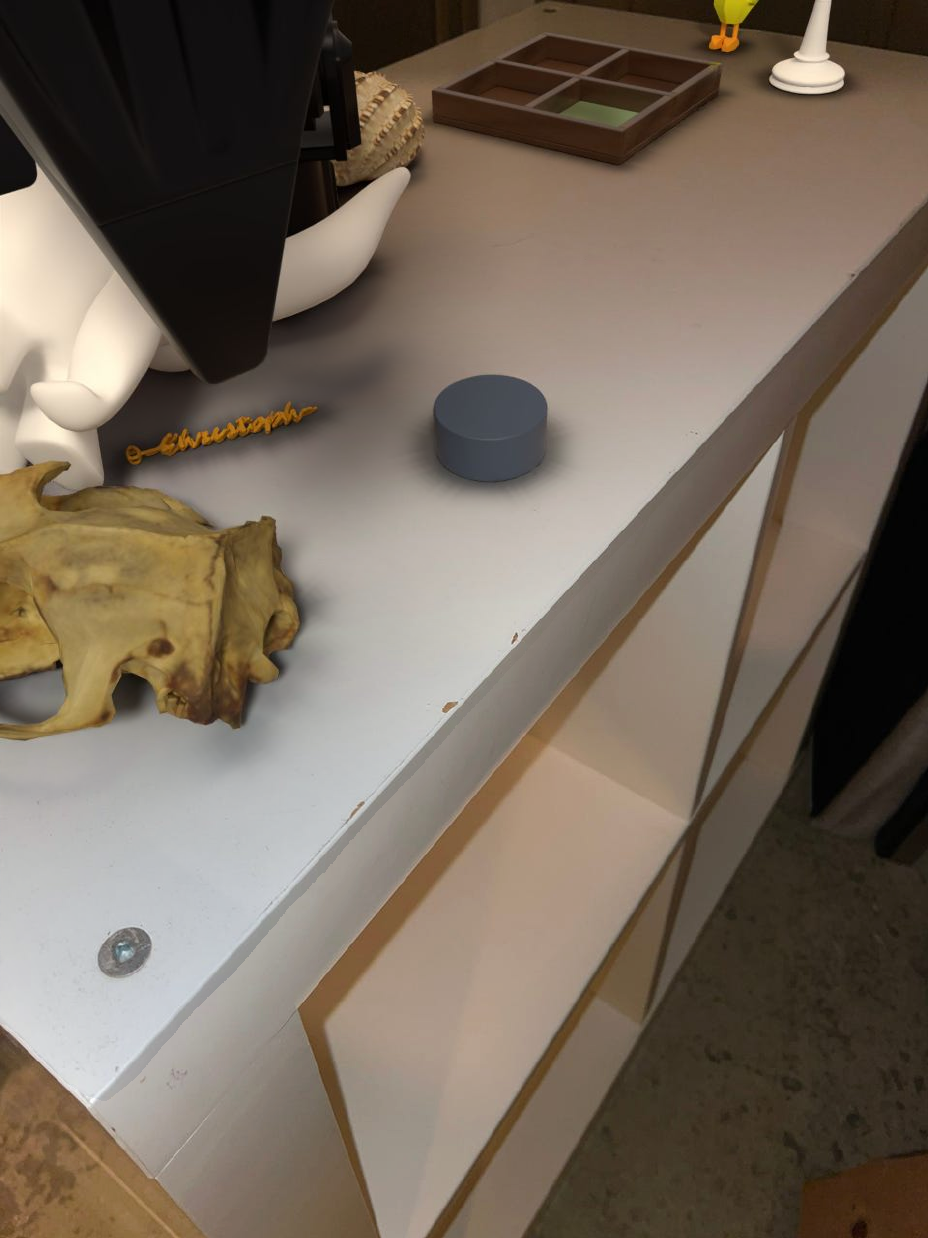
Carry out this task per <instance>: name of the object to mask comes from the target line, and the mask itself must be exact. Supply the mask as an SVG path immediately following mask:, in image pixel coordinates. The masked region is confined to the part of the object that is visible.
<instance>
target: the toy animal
mask: <svg viewBox="0 0 928 1238" xmlns="http://www.w3.org/2000/svg"><path fill="white" fill-rule="evenodd" d="M36 167H37V179H36V181H35V183H34V184H33V185H32V186H30V187H28V188H24V189H21V190H18V191H14V192H11V193H8V194H5V195H1V196H0V475H1V474H10V473H11V472H13V471H15V470H18V469H21V468H25V467H27V464H28V462H29V463H30V464H32V466H33V465H36V464H40V463H44V462H47V461H62V462H69V463H70V464H71V466H70V468H69V469H68V470H67V471H63V472H62V473H61V474H60V475H58V476H57V477H56V478H55V479H53V480H52V482H55V483H56V484H58V485H59V486H61V487H62V488H64V489H67V490H69V491H72V492H78V491H80V490H82V489H85V488H87V487H94V486H104V483H105V482H104V481H105V473H104V467H103V460H102V455H101V454H102V453H101V449H100V442H99V441H100V440H99V434H98V428H100V427H101V426H103V425H105V424H106V423H108V421H110V420H111V419H112V418H113V417H115V415H116V414H118V412H119V411H120V410H121V409H122V408H123V406H124V405H125V404H126V403H127V402H128V401H129V399H130V397H131V396H132V395H133V393H134V392H135V390H136V389H137V388H138V386H139V384H140V383H141V381H142V379H143V377H144V375H146V372H147V371H148V369H149V368H150V369H152V370H157V371H160V372H169V373H176V372H178V373H179V372H184V371H188V370H190V368H189V367H188V366H187V365H186V363H185V362H184V361H183V359H182V358H181V357H180V355H179V354H178V353H177V351H176V350H175V349H174V348H173V346H172V345H171V344H170V342H169V341H168V340H167V338H166V337H165V336H164V334H163V333H162V332H161V331H160V329H159V328H158V327H157V325H156V324H155V323H154V321H153V320H152V319H151V317H150V316H149V315H148V314H147V312H146V311H145V310H144V308H143V307H142V306H141V304H140V303H139V302H138V300H137V299H136V297H135V296H134V295H133V293H132V292H131V291H130V289H129V288H128V287H127V285H126V284H125V283H124V281H123V280H122V278H121V277H120V276H119V274H118V273H117V272H116V270H115V269H114V268H113V266H112V265H111V264H110V262H109V261H108V259H107V258H106V257H105V255H104V254H103V253H102V251H101V250H100V249H99V247H98V246H97V245H96V243H95V242H94V240H93V239H92V238H91V236H90V235H89V234H88V232H87V231H86V230H85V228H84V227H83V226H82V224H81V223H80V221H79V220H78V219H77V217H76V216H75V215H74V213H73V212H72V211H71V209H70V208H69V207H68V205H67V204H66V202H65V201H64V200H63V198H62V197H61V196H60V194H59V193H58V192H57V190H56V189H55V187H54V186H53V185H52V183H51V182H50V181H49V179H48V178H47V177H46V175H45V174H44V173H43V171H42V170H41V168H40V167H39V166H38V164H37V163H36ZM410 179H411V172H410V170H409V169H408V168H406V167H399V168H396V169H394V170H392V171H389V172H388V173H386V174H384V175H383V176H381V177H380V178H378V179H377V180H373V181H372V182H371V183H369V184H368V185H366V187H364V188H362V189H361V190H360V191H359V192H358V193H357V194H355V195H354V196H352V198H350V199H349V200H348V201H346V202H345V203H344V204H343V205H341V207H339V209H338V210H337V211H335V212H334V213H332V214H331V215H330V216H328V217H327V218H325V219H323V220H322V221H320V222H318V223H317V224H315V225H314V226H312V227H310V228H308V229H306V230H304V231H301V232H299V233H297V234H295V235H293V236H291V237H288V238H286V241H285V247H284V254H283V260H282V266H281V272H280V278H279V285H278V291H277V297H276V303H275V309H274V315H273V322H277V321H280V320H282V319H285V318H288V317H292V316H293V315H296V314H299V313H301V312H303V311H306V310H309V309H310V308H313V307H316V306H317V305H319V304H322V303H323V302H326V301H327V300H329V299H331V298H333V297H335V296H336V295H338V294H339V293H341V292H342V291H343V290H345V289H346V288H348V287H349V286H350V285H352V284H353V283H354V282H355V281H356V280H357V278H358V277H360V275H361V274H362V273H363V272H364V271H365V270H366V268H367V267H368V265H369V263H370V262H371V260H372V258H373V256H374V254H375V253H376V251H377V248H378V246H379V244H380V241H381V240H382V237H383V234H384V231H385V229H386V226H387V223H388V222H389V219H390V217H391V215H392V214H393V213H392V212H393V210H394V208H395V207H396V205H397V204H398V201H399V200H400V198H401V196H402V195H403V193H404V191H405V190H406V188H407V187H408V185H409V183H410V181H411V180H410Z"/></svg>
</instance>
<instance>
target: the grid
mask: <svg viewBox="0 0 928 1238" xmlns="http://www.w3.org/2000/svg"><path fill="white" fill-rule="evenodd" d="M723 65H724V64H723V63H722V62H717V61H711V60H706V59H702V58H701V59H700V58H695V57H689V56H684V55H677V54H671V53H666V52H661V51H655V50H649V49H645V48H639V47H633V46H626V45H620V44H615V43H609V42H606V41H605V42H604V41H599V40H592V39H586V38H582V37H575V36H570V35H565V34H559V33H553V32H547V31H544V32H543V33H540V34H538V35H536V36H534V37H533V38H531V39H529V40H527V41H525V42H523V43H521V44H519V45H517V46H515V47H513V48H511V49H508V50H507V51H506V52H503V53H501V54H499V55H497V56H496V57H494V58H492V59H490V60H488V61H486V62H484V63H482V64H480V65H478V66H476V67H474V68H472V69H470V70H469V71H467V72H464V73H463V74H461V75H459V76H456V77H455V78H453V79H451V80H449V81H447V82H445V83H442V84H441V85H439V86H437V87H435V88H433V89H432V90H431V106H432V121H433V122H434V123H439V124H443V125H447V126H451V127H457V128H460V129H465V130H467V131H468V130H469V131H471V132H477V133H482V134H486V135H489V136H494V137H498V138H502V139H506V140H511V141H516V142H520V143H524V144H529V145H533V146H536V147H540V148H541V147H542V148H545V149H549V150H554V151H557V152H563V153H566V154H570V155H575V156H580V157H584V158H588V159H592V160H597V161H600V162H605V163H609V164H613V165H617V166H619V165H621V164H623V163H624V162H626V161H627V160H628V159H630V158H631V157H632V156H633V155H635V154H636V153H638V152H640V151H641V150H642V149H643V148H645V147H646V146H648V145H649V144H650V143H652V142H653V141H655V140H656V139H658V138H660V136H661V135H663V134H665V133H666V132H668V131H669V130H670V129H672V128H674V126H676V125H677V124H679V123H680V122H681V121H683V120H684V119H686V118H687V117H689V116H691V114H693V113H694V112H696V111H697V110H698V109H700V108H701V107H702V106H704V105H705V104H707V103H708V102H710V101H711V100H712V99H714V98H715V97H717V96H718V95H719V93H720V87H721V86H720V85H721V80H722V79H721V78H722V72H723Z"/></svg>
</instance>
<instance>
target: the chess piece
mask: <svg viewBox="0 0 928 1238" xmlns="http://www.w3.org/2000/svg"><path fill="white" fill-rule="evenodd" d="M831 7H832V0H814V3H813V7H812V10H811V11H812V12H811V14H810V16H809V21H808V23H807V26H806V30H805V33H804V36H803V39H802V41H801V44H800V47H799V49H798V50H797V51H795V52H794V53H793V57H791V58H787V59H784V60H781V61H779V62H777V63H776V64H775V65H773V67H772V69H771V75H770V76H769V77H768V80H769V81H768V82H769V83H770V84H771V85H772V86H773V87H774V88H777V89H779V90H782V91H784V92H788V93H794V94H800V95H801V94H802V95H822V94H829V93H833V92H836V91H838V90H840V89H842V87H843V86H844V84H845V82H844V78H845V76H846V72H845V69H844V68H843V67H842V66H841V65H840V64H838V63H835V62H834V61H831V60H829V58H830V54H829V53H828V52H827V42H828V41H827V40H828V32H829V31H828V30H829V21H830V15H831V14H830V13H831Z"/></svg>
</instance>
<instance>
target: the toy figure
mask: <svg viewBox="0 0 928 1238" xmlns="http://www.w3.org/2000/svg"><path fill="white" fill-rule="evenodd" d="M713 1H714V2H713V7H714V9H715V12H716V14H717V17H718V19H719V21H720V22H721V26H720V31H719V32H720V33H719V35H718V34H714V35H712V36H711V40H710V42H709V44H708V49H710V50H719V49H721V52H724V53H725V52H726V53H729V52H732V51H735V50H736V49H737V48H738V47H739V45H740V40H739V38H738V34H739V27H740V24H742V23H744V20H745V19H746V18H747V16H748V15H749V14H750V12H751V11H752V9H754V7H755V6H756V5H757V4H758V2H759V0H713ZM727 25H733V28H732V34H731V37H728V36H726V31H727V27H728V26H727Z"/></svg>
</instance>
